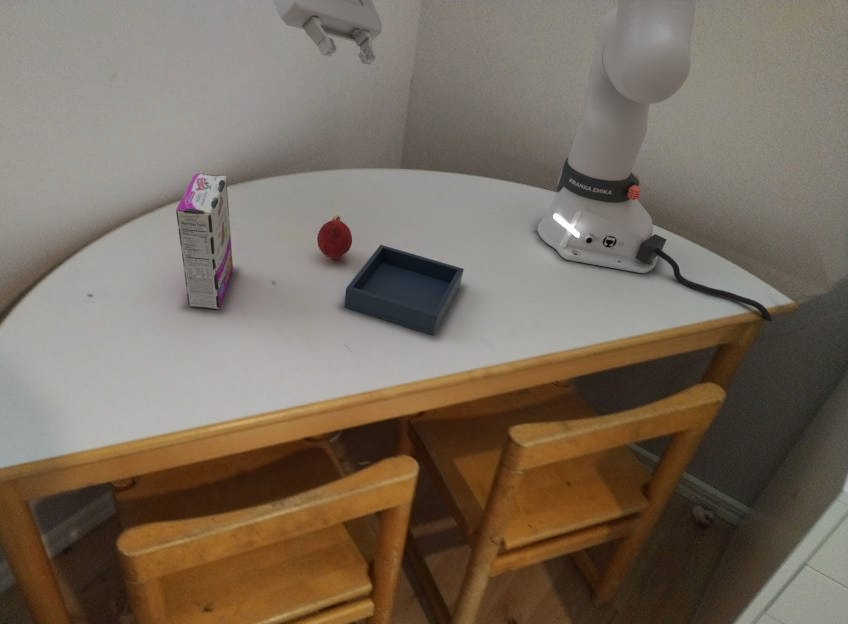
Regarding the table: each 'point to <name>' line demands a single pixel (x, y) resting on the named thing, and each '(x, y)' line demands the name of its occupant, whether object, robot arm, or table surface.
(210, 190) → the candy bar box
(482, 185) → the table surface
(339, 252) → the onion
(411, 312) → the tray
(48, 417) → the table surface
